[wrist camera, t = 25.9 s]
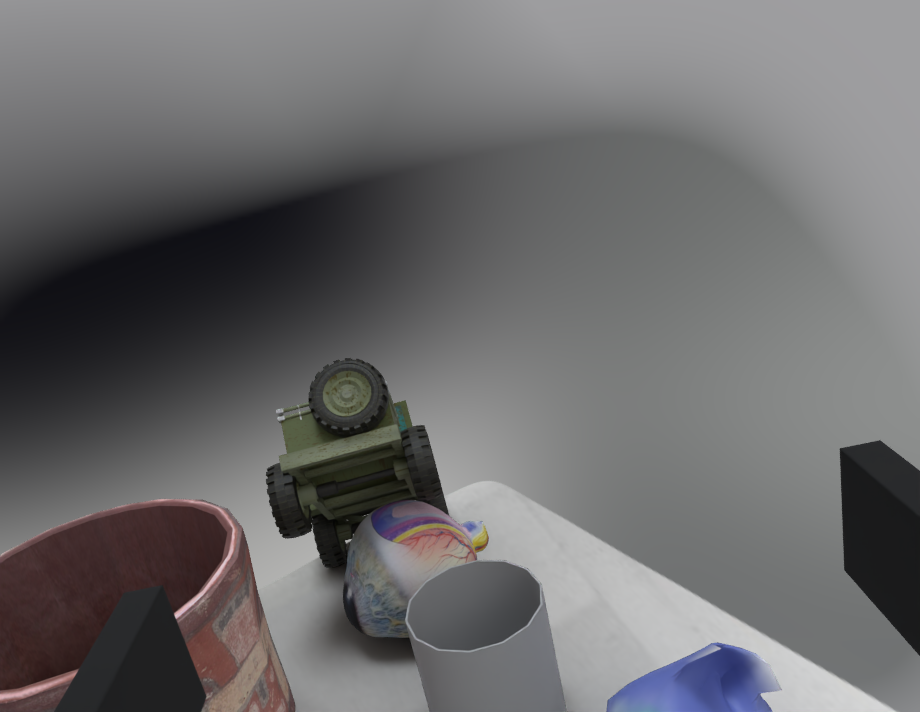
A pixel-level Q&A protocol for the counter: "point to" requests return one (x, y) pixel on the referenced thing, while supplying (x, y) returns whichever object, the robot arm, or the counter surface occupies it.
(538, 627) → the cup
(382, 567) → the anatomical model
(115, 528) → the pottery
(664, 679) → the figurine
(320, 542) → the toy jeep
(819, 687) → the counter surface
